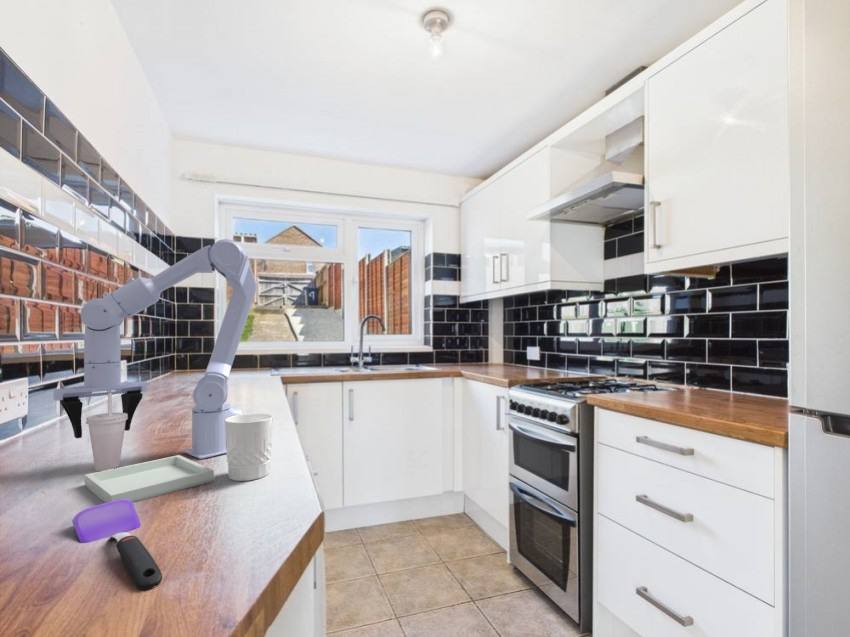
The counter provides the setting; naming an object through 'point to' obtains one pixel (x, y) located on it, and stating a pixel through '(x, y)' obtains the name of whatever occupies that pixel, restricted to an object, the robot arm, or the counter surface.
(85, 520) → the spatula
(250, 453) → the white cup
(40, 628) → the counter surface
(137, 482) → the tray
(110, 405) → the smoothie
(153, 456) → the counter surface
